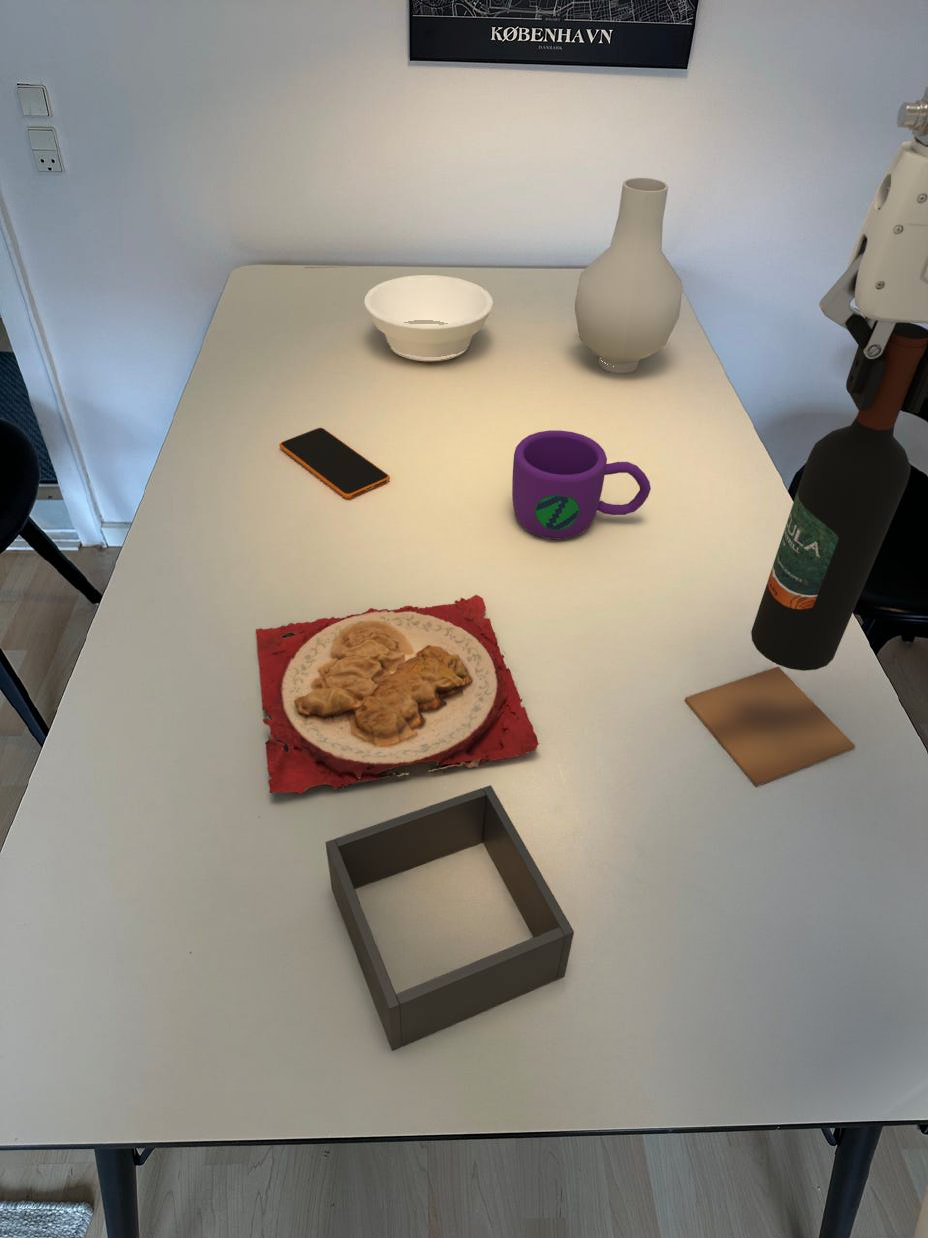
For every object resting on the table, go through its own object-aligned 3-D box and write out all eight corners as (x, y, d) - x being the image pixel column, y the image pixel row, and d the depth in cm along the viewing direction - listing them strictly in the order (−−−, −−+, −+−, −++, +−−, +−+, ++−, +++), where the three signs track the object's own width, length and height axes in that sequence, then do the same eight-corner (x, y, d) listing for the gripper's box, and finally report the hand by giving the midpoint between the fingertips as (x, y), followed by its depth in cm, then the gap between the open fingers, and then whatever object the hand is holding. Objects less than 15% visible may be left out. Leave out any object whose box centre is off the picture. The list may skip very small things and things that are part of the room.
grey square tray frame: (565, 976, 71) (574, 931, 67) (391, 1051, 67) (388, 1009, 62) (487, 832, 81) (491, 784, 76) (331, 889, 77) (325, 841, 72)
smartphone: (346, 500, 118) (346, 495, 118) (278, 448, 127) (277, 442, 127) (392, 480, 122) (392, 475, 122) (322, 430, 131) (322, 425, 131)
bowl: (438, 310, 163) (438, 264, 158) (516, 352, 152) (519, 304, 146) (341, 341, 153) (338, 293, 148) (418, 388, 141) (417, 339, 136)
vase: (656, 341, 156) (687, 167, 137) (679, 387, 144) (717, 203, 125) (561, 342, 155) (579, 166, 136) (576, 388, 143) (598, 202, 124)
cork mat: (854, 749, 89) (855, 745, 89) (755, 787, 86) (757, 783, 85) (777, 669, 97) (778, 665, 97) (684, 700, 94) (685, 697, 93)
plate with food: (539, 761, 87) (543, 737, 85) (270, 802, 82) (267, 778, 80) (480, 605, 105) (482, 581, 103) (255, 630, 100) (252, 607, 97)
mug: (508, 543, 113) (513, 475, 106) (510, 491, 121) (515, 425, 114) (647, 551, 112) (661, 484, 105) (640, 499, 121) (652, 433, 114)
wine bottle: (834, 679, 80) (971, 363, 59) (747, 658, 81) (851, 343, 61) (836, 625, 85) (963, 317, 65) (754, 606, 87) (853, 301, 66)
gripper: (866, 138, 52) (781, 423, 64) (1154, 151, 51) (1014, 434, 64) (833, 106, 57) (761, 373, 70) (1093, 117, 57) (975, 384, 69)
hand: (883, 400), depth 66 cm, fingers closed on wine bottle, 2 cm apart
